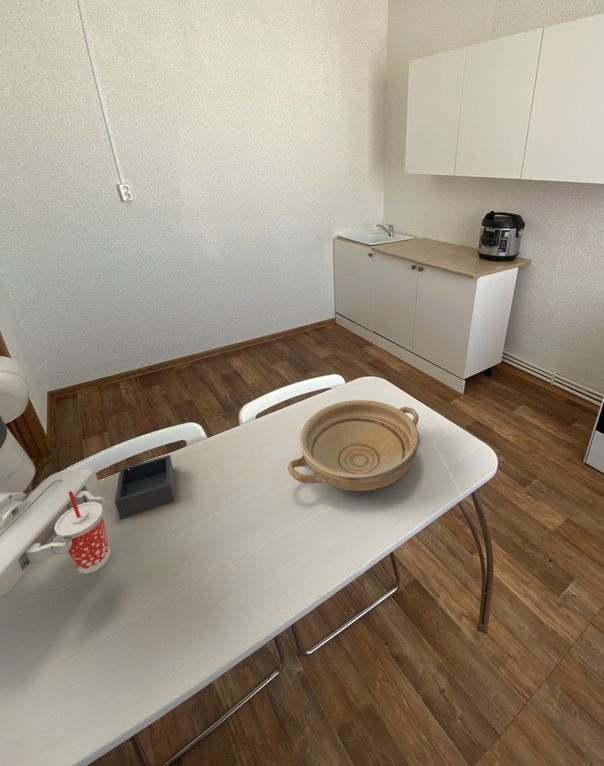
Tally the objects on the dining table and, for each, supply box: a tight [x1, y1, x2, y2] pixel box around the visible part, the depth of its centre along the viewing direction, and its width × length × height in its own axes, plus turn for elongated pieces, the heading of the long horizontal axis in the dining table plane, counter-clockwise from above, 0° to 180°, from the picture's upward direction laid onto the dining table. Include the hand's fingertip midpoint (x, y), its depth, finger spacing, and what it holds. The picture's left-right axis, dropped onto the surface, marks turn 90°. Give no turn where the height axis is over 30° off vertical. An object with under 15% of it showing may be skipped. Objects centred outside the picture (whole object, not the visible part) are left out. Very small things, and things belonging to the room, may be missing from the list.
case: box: [114, 454, 175, 520], centre depth 88 cm, size 11×11×5 cm
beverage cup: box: [54, 491, 111, 575], centre depth 59 cm, size 6×6×14 cm
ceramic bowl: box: [287, 399, 420, 492], centre depth 94 cm, size 37×29×10 cm
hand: (86, 524), depth 59 cm, fingers closed on beverage cup, 6 cm apart
